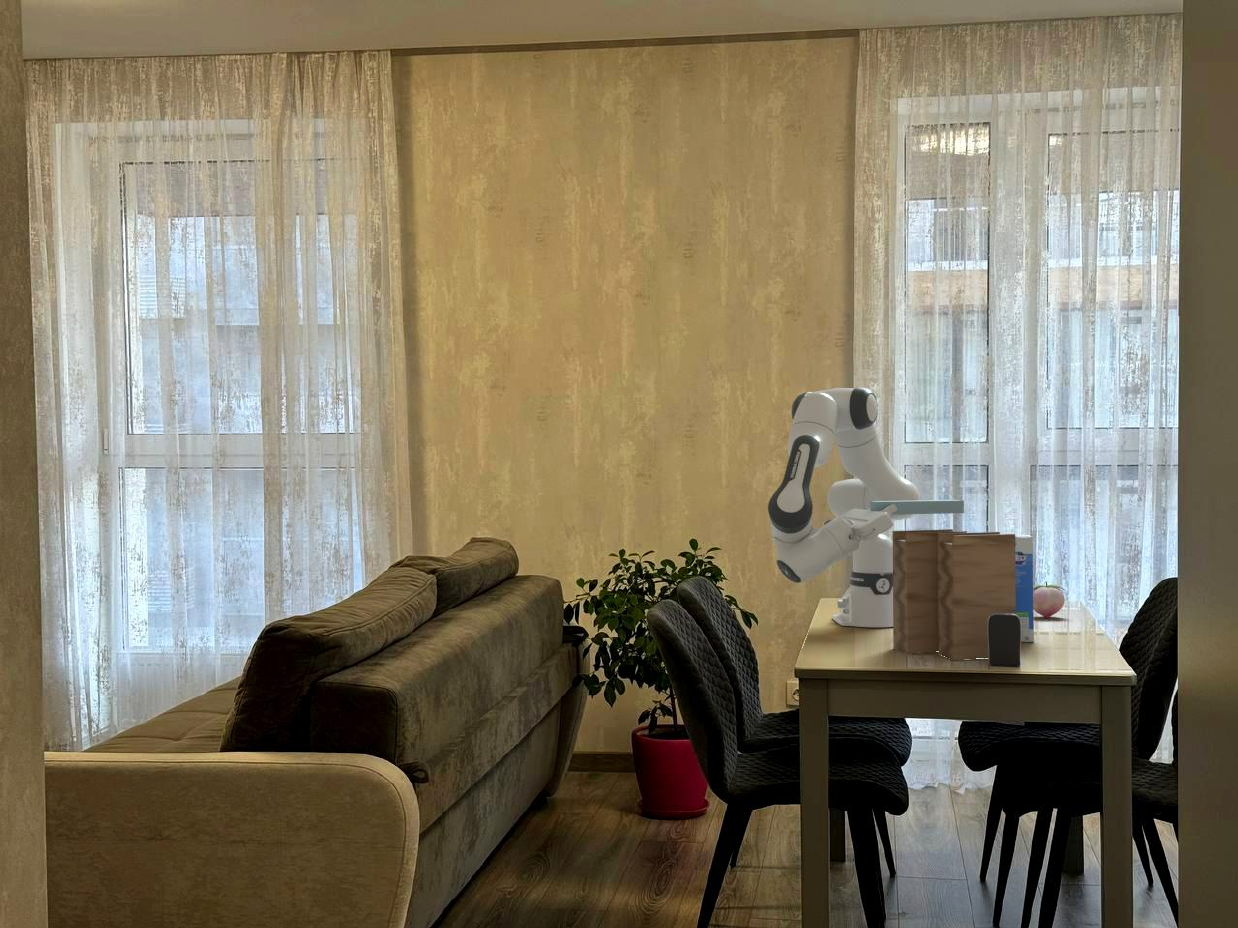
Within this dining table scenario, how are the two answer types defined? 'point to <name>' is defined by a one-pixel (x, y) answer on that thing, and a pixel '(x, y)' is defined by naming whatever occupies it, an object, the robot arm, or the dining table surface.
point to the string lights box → (1024, 585)
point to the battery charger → (1004, 639)
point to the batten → (921, 506)
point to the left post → (916, 590)
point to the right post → (973, 589)
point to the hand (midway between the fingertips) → (890, 505)
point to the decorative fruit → (1047, 599)
